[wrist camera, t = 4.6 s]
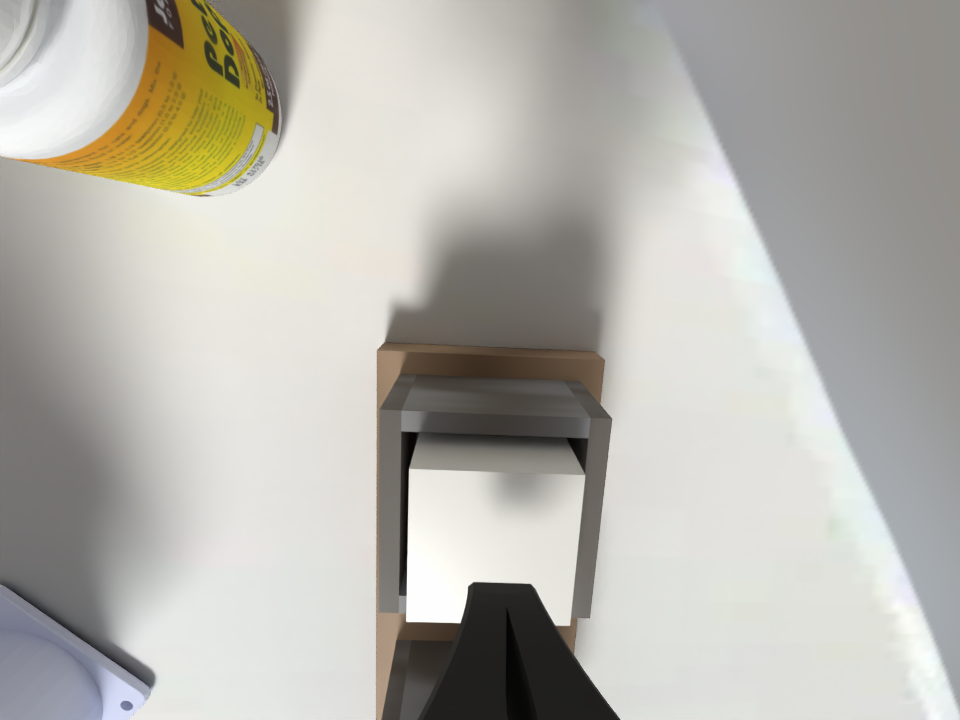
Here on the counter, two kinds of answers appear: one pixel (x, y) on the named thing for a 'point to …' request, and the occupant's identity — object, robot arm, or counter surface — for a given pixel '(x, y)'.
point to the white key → (491, 521)
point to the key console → (481, 411)
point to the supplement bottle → (136, 93)
